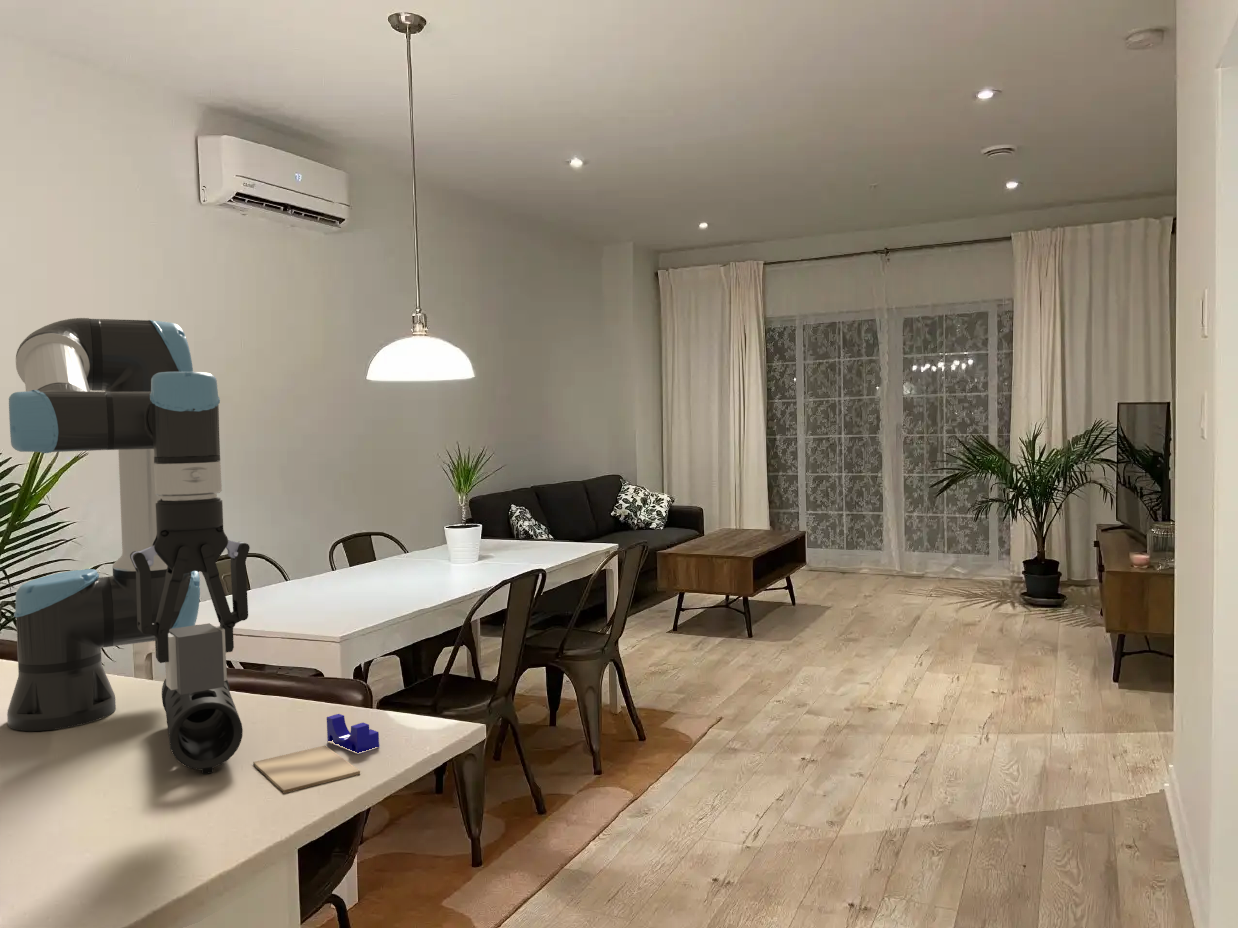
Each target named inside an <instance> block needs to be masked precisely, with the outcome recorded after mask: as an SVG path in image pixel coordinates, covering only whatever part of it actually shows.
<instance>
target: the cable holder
mask: <svg viewBox="0 0 1238 928" xmlns="http://www.w3.org/2000/svg"><path fill="white" fill-rule="evenodd" d="M326 737H327V742H328V741H332V740H333V742H334V743H335V744H339V745H340V746H343V747H345V748H347V749H350V750H352V751H355V752H357V753H359V752H362V751H366V750H369V749H372V748H375V747H379V748H380V738H379V737H380V735H379V731H376V730H374V729H371V728H370V723H369V724H368V723H366V722H360V723H357V724H353V725H351V726H350V731H349V729H348V726H347V724H346V720H345V715H344V714H340V713H336V714H333V715H329V716H327V717H326Z"/></svg>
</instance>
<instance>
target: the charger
mask: <svg viewBox="0 0 1238 928" xmlns="http://www.w3.org/2000/svg"><path fill="white" fill-rule="evenodd" d="M169 633H172V634H173V635H174V636H175V639H176V663H177V686H178V689H175V690H176V691H177V692H178V693H179V694H180V695H183V694H188V693H194V692H199V691H205V690H210V689H216V688H221V687H224V668H223V643H222V631H221V630H219V629H218V628H216V627H215V625H213V624H211V623H202V624H197V625H196V624H195V625H194V626H187V627H180V628H173V629H170V630H169Z"/></svg>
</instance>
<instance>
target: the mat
mask: <svg viewBox="0 0 1238 928" xmlns="http://www.w3.org/2000/svg"><path fill="white" fill-rule="evenodd" d="M252 764H253V766H254V767H255V768H256V769H257V770H258V771H259V772H261V774H262V775H264V777H266V778H267V779H268V780H269V781H270V782H272V784H274V785H275V786H276V787H277V788H278V790H280V791H281V792H282V793H283V794H288V793H290V792H294V791H298V790H304V789H306V788H310V787H314V786H318V785H323V784H325V783H326V784H327V783H329V782H333V781H337V780H338V781H339V780H342V779H345V778H346V779H347V778H350V777H354V776H357V775H361V770H360V769H359V768H357V767H356V766H355V765H352V764H351V763H350V762H349V761H347V760H346V759H345V758H343V757H342V756H340V755H339V754H338V753H336V752H335V751H333V750H332V749H331V748H329V747H328V746H327V745H321V746H317V747H312V748H307V749H304V750H299V751H295V752H290V753H287V754H282V755H277V756H273V757H269V758H265V759H260V760H256V761H253V763H252Z"/></svg>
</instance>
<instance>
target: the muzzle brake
mask: <svg viewBox="0 0 1238 928" xmlns="http://www.w3.org/2000/svg"><path fill="white" fill-rule="evenodd" d="M230 690H231V689H230V684H229V680H228V679H227V680H226V681H224V687H221V688H216V689H210V690H205V691H199V692H194V693H188V694H183V695H180V694H179V693H178V692H177V691H176V690H170V689H169V688H168V687H167V686H166V678H164V680H163V682H162V686H161V701H162V706H163V709H164V711H165V716H166V725H167V733H168V734H167V735H168V742H169V748H170V751H171V754H172V755H173V756H174V758H175V759H176V760H177V761H178V762H179V763H180V764H181V765H183V766H185V767H187V768H190V769H193V770H201V773H202V774H203V775H207V774H212V773H214V768H216V767H219V766H221V765H222V764H224V763H226V762H227V761H228V760H229V759H231V758H232V757H233V756H234V755H235V753H236V752H237V751H238V749H239V746H240V745H241V743H242V739H243V732H244V731H243V729H244V728H243V723H242V721H241V718H240V715H239V712H238V710H237V708H236V704H235V702H234V700H233V696H232V695H231V692H230Z"/></svg>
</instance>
